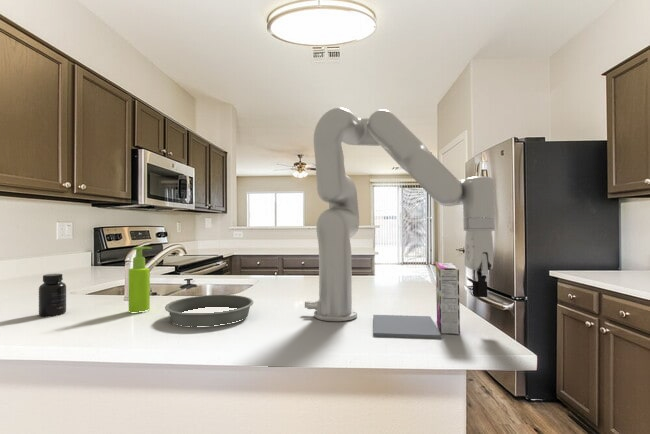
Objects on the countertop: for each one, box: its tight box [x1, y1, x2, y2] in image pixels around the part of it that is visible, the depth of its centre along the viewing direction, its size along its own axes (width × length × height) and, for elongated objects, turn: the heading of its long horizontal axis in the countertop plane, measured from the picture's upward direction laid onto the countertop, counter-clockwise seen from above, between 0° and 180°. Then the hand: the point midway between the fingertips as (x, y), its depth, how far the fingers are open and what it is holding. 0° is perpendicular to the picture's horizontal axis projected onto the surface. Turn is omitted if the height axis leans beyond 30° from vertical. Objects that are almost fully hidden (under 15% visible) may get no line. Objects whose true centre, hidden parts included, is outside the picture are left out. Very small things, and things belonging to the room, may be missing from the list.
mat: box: [372, 314, 443, 339], centre depth 101 cm, size 16×18×1 cm
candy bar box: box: [435, 262, 461, 335], centre depth 100 cm, size 11×5×16 cm, turn 168°
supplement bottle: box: [38, 273, 67, 318], centre depth 116 cm, size 7×7×12 cm
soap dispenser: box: [128, 246, 153, 312], centre depth 120 cm, size 6×7×20 cm
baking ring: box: [164, 294, 254, 328], centre depth 112 cm, size 25×25×4 cm
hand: (479, 296), depth 99 cm, fingers closed
